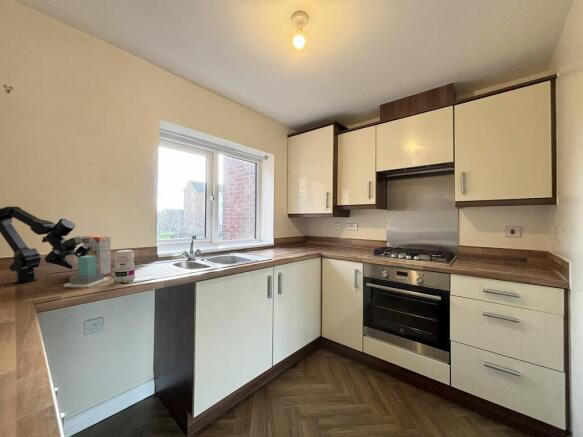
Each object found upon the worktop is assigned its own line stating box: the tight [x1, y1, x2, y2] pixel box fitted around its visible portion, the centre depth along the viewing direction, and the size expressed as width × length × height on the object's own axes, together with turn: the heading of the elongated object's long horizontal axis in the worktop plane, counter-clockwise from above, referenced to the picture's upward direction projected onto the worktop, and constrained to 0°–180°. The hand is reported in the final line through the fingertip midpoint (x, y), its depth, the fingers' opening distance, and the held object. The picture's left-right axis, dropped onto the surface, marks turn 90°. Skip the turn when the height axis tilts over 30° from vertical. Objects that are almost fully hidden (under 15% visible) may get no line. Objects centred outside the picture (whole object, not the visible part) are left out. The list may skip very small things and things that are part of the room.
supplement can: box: [113, 249, 136, 283], centre depth 125 cm, size 8×8×15 cm
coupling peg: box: [77, 256, 96, 277], centre depth 121 cm, size 4×4×12 cm
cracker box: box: [82, 234, 112, 276], centre depth 138 cm, size 14×6×21 cm, turn 69°
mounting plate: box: [63, 273, 110, 288], centre depth 121 cm, size 12×12×4 cm
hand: (81, 266), depth 121 cm, fingers open, 9 cm apart
